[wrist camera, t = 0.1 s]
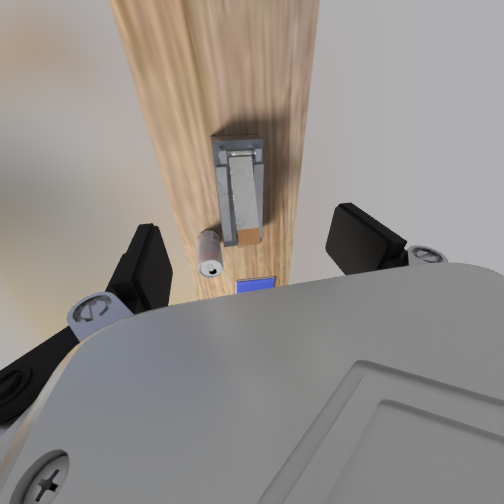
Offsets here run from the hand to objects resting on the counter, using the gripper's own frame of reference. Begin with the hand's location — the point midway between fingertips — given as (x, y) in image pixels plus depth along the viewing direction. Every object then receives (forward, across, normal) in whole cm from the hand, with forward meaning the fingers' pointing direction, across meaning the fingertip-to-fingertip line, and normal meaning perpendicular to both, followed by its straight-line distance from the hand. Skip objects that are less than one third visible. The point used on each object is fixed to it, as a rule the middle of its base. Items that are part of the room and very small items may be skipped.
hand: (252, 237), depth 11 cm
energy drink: (+37, +4, +23) cm, 44 cm away
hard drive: (+38, -8, +44) cm, 58 cm away
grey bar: (+26, -4, +10) cm, 28 cm away
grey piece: (+37, -4, +11) cm, 38 cm away
